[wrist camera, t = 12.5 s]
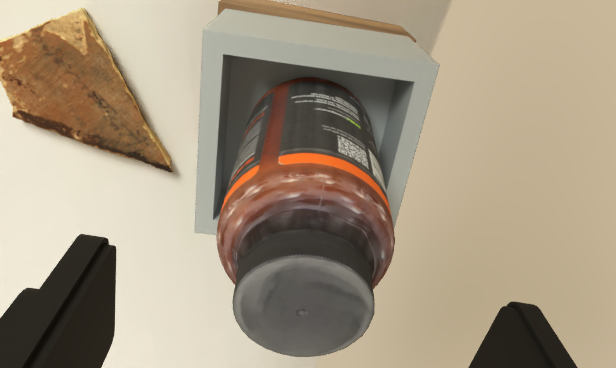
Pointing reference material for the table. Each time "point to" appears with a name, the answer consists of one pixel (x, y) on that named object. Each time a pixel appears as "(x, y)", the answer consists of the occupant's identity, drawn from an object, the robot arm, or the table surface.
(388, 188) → the tower top
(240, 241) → the supplement bottle
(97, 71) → the shard
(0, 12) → the table surface
